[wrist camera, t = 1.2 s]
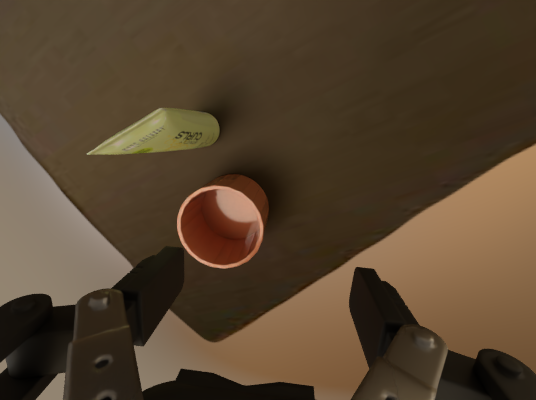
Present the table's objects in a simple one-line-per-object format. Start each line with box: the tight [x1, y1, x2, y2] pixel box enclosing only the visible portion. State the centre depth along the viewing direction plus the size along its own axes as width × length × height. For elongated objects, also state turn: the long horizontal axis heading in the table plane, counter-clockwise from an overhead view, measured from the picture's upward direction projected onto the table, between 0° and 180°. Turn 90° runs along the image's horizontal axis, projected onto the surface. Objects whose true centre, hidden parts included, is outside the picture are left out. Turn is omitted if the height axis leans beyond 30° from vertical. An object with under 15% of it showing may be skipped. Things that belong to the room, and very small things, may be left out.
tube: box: [87, 108, 220, 155], centre depth 30 cm, size 6×5×20 cm
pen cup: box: [177, 174, 269, 268], centre depth 37 cm, size 11×11×9 cm
